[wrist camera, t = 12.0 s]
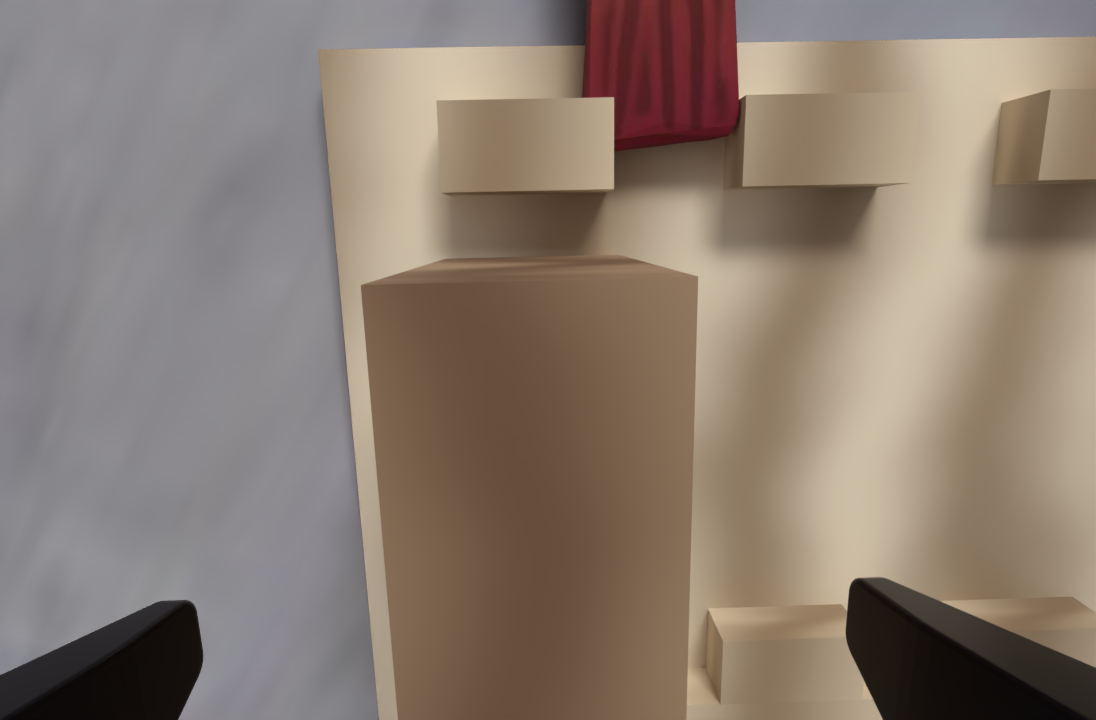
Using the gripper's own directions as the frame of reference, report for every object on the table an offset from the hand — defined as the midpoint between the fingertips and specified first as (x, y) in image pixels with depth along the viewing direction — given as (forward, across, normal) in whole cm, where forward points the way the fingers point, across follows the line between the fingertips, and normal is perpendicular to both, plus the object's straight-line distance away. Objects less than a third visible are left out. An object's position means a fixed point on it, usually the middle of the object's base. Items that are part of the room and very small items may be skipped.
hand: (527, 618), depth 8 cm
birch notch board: (+10, -7, 0) cm, 12 cm away
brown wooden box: (+9, 0, 0) cm, 9 cm away
